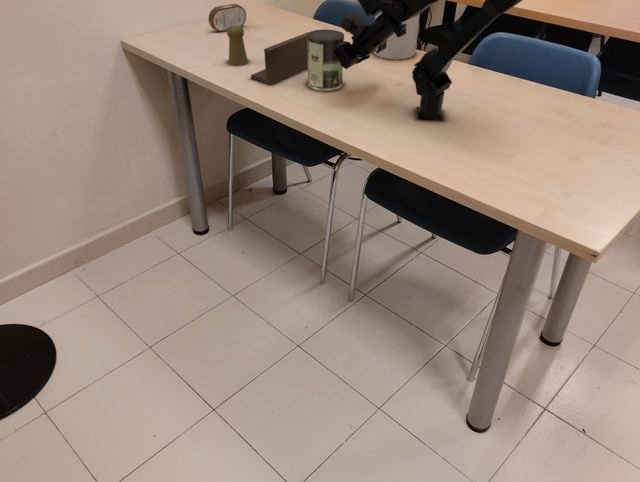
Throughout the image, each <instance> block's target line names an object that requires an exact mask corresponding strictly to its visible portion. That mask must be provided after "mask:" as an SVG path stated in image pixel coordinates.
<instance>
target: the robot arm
mask: <svg viewBox="0 0 640 482" xmlns="http://www.w3.org/2000/svg"><path fill="white" fill-rule="evenodd" d="M439 1H440V0H357V2H358V4H359V6H360V7H361V9H362V10H363V12H364V13H365V16H367V17H372V18H374V19H373V20H372V22H370V23H369V22H368V21H367V20H366V19H365V18H364V17H363V16H362V15H360V14H359V13H358V12H356V11H351V12H350V13H347V14H346V15H345V16H343V18H341V20H340V27H341V29H343V30H344V31H345V32H346V33H349V34H351V36H350V38H351V40H352V42H350V41H346V40H344V42H341V43H339V44H337V45H336V46H335V47H334V48H333V52H334V53H335V55H336V56H337V58H338V60H339V61H340V65H341V66H342V67H343V69H345V70H347V69H350V68H352V67H353V66H355V65H358V64H360V63H362V62H363V61H366V60H368V59H370V58H371V55H372V54H374V52H375V51H376V49H377V48H378V50H377V51H376V53H377V54H378V53H380V52H382V51H383V50H384V49H385V48H386V45H387V43H386V42H387V39H388V38H389V37H391V36H392V35H393V34H394V33H395V34H396V36H397V37H398V38H399V37H401V36H403V35H405V34H406V26H407V25H406V24H403V23H402V22H404V21H407V20H409V19H411V18H413V17H416V16H417V15H419V14H420V15H421V13H423V12H425V11H426V10H427V9H428V8H430V7H431V6H432V5H433V4H435V3H437V2H439ZM522 1H523V0H484V1H483V3H482V5H481V7H480V8H479V9H478V10H477V12H476V13H475V14H473V15H472V16H471V18H470V19H469V20H468V21H467V22H465V24H463V26H462V27H460V29H459V30H458V31H457V32H456V33H455V34H454V35H453V36H451V38H450V39H449V40H448V41H446V43H445V44H444V45H443V46H442V47H441V48H440V49H439V50H438V48H437V47H435V48H432V49H431V50H429V51H428V52H425V53H424V54H423V55H422V56H421V58H420V60H419V61H418V62H416V63H414V64H413V66H414V68H413V70H412V72H411V74H412V81H413V82H414V86H415V90H416V95H418V96H420V100H419V106H417V107H416V115H417V119H418V120H434V121H435V120H436V121H437V120H438V121H443V120H444V118H445V117H444V114H443V104H444V97H445V91H447V90H449V89H450V87H451V85H452V84H453V81H452V79H451V78H450V77H449V75H448V73H447V71H448V70H449V68H450V67H451V65H452V63H453V61H454V60H455V59H456V58H457V57H458V56H459V55H460V54H461V53H462V52H463V51H464V50H466V48H467V47H468V46H469V45H470V44H471V43H472V42H473V41H475V40H476V38H477V37H479V36H480V34H482V33H483V32H484V31H485V30H486V29H487V28H488V27H489V26H490V25H491V24H492V23H493V22H494V21H495V20H496V19H498V17H501V16H502V15H503V14H505V13H506V12H508V11H510V10H511V9H512V8H513V7H515V6H517V5H518V4H520V3H521V2H522ZM381 12H382V13H381ZM379 13H381V14H380V15H379V16H378V17H377V18H376V19H375V16H376V15H378V14H379Z"/></svg>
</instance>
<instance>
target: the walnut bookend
mask: <svg viewBox="0 0 640 482" xmlns="http://www.w3.org/2000/svg"><path fill="white" fill-rule="evenodd" d="M309 32H310V31H308V32H305V33H302V34H300V35H297V36H294V37H291V38H289V39H286V40H283V41H281V42H279V43H276V44H273V45H271V46H268V47H265V48H264V49H263V51H264V52H263V53H264V69H262V70H260V71H256V72H255V73H252V74H250V79H251V80H253V81H257V82H260V83H262V84H266V85H270V86H273V85H274V84H278V83H279V82H281V81H284V80H287V79H288V78H290V77H292V76H294V75H297V74H299V73H301V72H304V71H305V70H308V38H307V34H308V33H309Z"/></svg>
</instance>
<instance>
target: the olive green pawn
mask: <svg viewBox="0 0 640 482" xmlns="http://www.w3.org/2000/svg"><path fill="white" fill-rule="evenodd" d="M226 34H227V37H228V38H229V40H228V43H229V44H228V45H229V46H228V64H229V65H231V66H244V65H247V64H248V63H249V61H248V56H247V51H246V47H245V43H244V36H245V31H244V28H243V26H242V27H241V26H237V25H234V26H230V27H228V29H227V31H226Z"/></svg>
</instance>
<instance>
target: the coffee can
mask: <svg viewBox="0 0 640 482" xmlns="http://www.w3.org/2000/svg"><path fill="white" fill-rule="evenodd" d="M308 32H309V33H308V34H307V38H308V69H307V86H308V87H309V88H310V89H312V90H315V91H321V92H332V91H336V90H339V89H340V88H342V87H343V72H344V71H343V70H344V67H342V66H341V65H340V61H339V60H338V58H337V56H336V55H335V53H334V52H333V48H334V47H335V46H336V45H337V44H339V43H341V42H344V41H345V33H343V32H342V31H340V30H335V29H327V28H325V29H315V30H311V31H308Z"/></svg>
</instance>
